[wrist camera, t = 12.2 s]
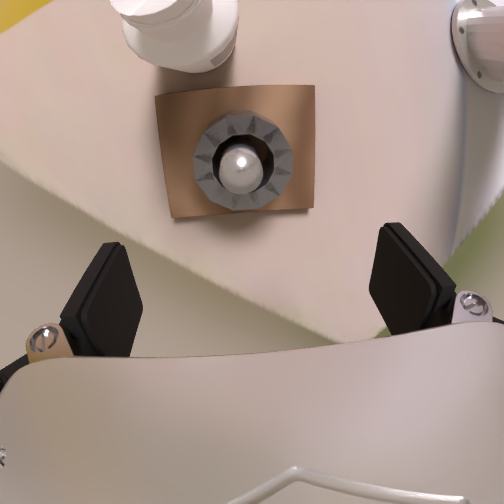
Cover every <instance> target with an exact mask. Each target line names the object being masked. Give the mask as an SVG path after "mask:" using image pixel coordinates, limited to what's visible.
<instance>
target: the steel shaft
mask: <svg viewBox="0 0 504 504" xmlns="http://www.w3.org/2000/svg"><path fill="white" fill-rule="evenodd" d="M219 177H220V181H221V183H222V185H223V186H224V187H225V188H226V189H227V190H228V191H230V192H232V193H235V194H246V193H249V192H252V191H253V190H255V189H256V188H257V187H258V186H259V185H260V183H261V181H262V178H263V169H262V166H261V163H260V160H259V157H258V155H257V152H256V149H255V147H254V144H253V143H252V141H251V140H250V139H248V138H246V137H244V136H234V137H231V138H229V139H228V140H227V141H226V142H225V143H224V145H223V148H222V154H221V162H220V170H219Z"/></svg>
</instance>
